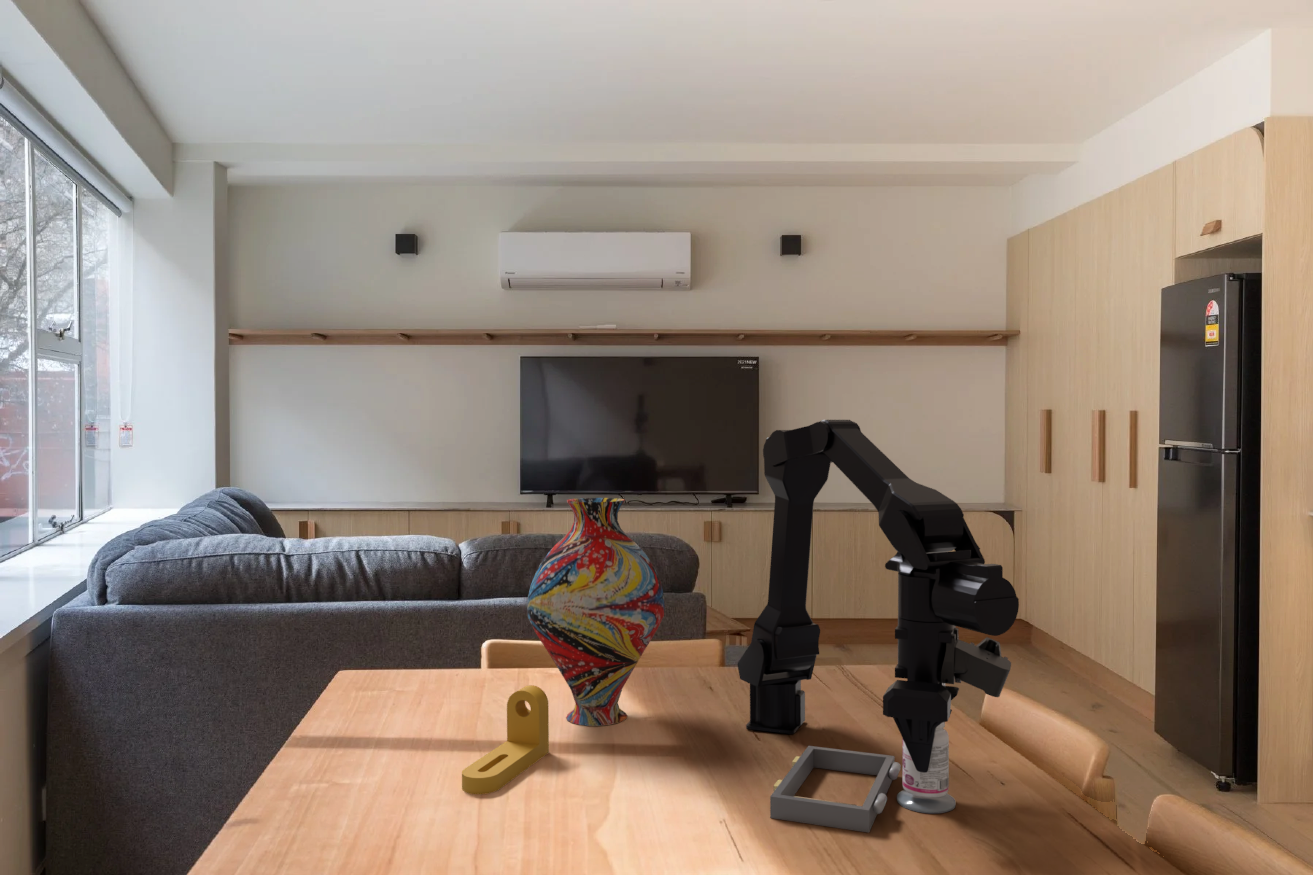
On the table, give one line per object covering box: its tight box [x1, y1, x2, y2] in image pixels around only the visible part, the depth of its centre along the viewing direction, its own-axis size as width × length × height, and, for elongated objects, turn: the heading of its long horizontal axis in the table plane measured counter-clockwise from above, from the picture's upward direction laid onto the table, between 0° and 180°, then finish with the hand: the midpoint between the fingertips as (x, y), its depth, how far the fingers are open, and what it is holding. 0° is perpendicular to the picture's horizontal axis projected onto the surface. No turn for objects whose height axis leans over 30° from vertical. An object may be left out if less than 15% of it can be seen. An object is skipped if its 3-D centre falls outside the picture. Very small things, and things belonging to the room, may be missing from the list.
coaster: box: [896, 789, 957, 814], centre depth 104 cm, size 6×6×1 cm
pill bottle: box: [901, 722, 950, 797], centre depth 104 cm, size 5×5×8 cm
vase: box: [527, 497, 666, 727], centre depth 135 cm, size 19×19×30 cm
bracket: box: [461, 684, 550, 795], centre depth 114 cm, size 15×4×8 cm, turn 161°
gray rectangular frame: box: [769, 745, 902, 833], centre depth 106 cm, size 12×17×2 cm
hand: (925, 763), depth 104 cm, fingers closed on pill bottle, 5 cm apart
